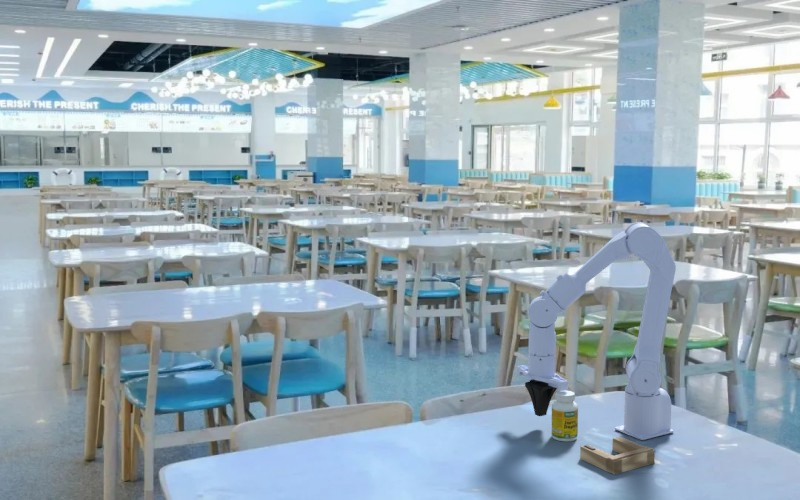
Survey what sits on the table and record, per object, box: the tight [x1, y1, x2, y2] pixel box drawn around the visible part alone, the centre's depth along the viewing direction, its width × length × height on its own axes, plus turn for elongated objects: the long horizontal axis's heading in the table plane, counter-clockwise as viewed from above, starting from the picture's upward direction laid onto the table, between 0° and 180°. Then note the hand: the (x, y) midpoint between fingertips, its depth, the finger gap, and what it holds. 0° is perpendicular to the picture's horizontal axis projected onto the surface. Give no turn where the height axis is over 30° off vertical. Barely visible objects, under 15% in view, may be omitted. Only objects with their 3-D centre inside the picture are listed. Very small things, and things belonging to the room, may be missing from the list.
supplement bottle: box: [551, 390, 579, 443], centre depth 170 cm, size 5×5×10 cm
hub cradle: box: [579, 436, 656, 475], centre depth 158 cm, size 10×9×3 cm
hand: (540, 414), depth 177 cm, fingers closed
